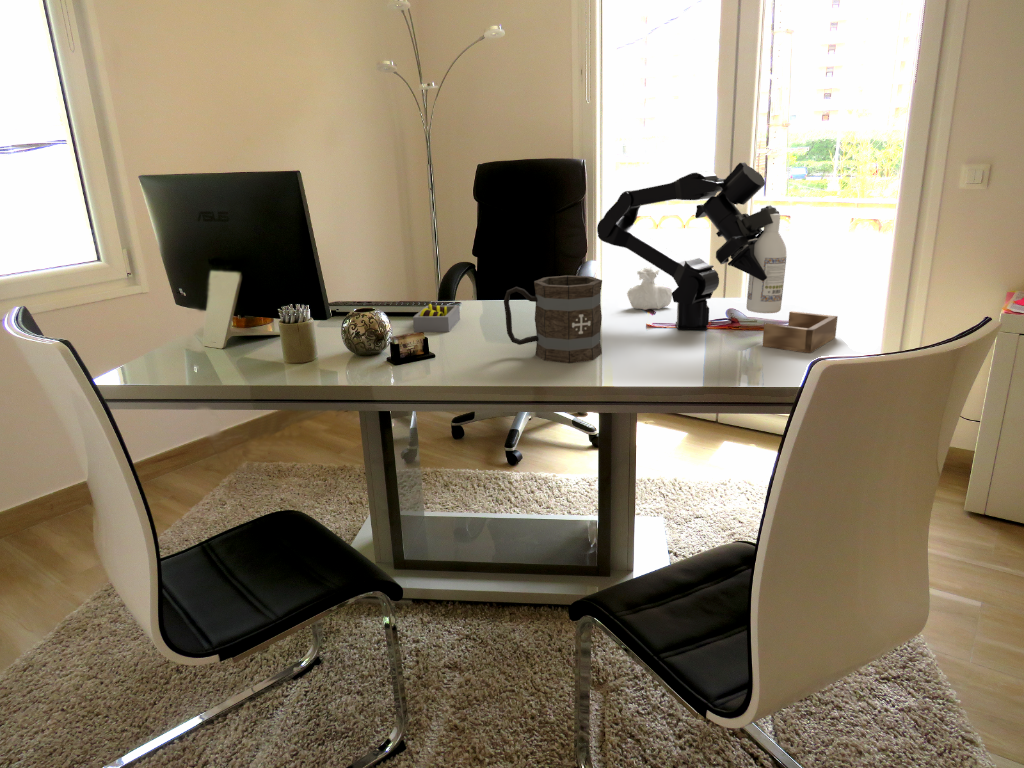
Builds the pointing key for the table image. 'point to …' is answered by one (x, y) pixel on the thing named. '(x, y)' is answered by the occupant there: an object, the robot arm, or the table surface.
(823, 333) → the u rest
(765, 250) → the bath foam
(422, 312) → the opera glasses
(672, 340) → the table surface
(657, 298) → the white tied sack
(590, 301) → the mug
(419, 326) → the valet tray
